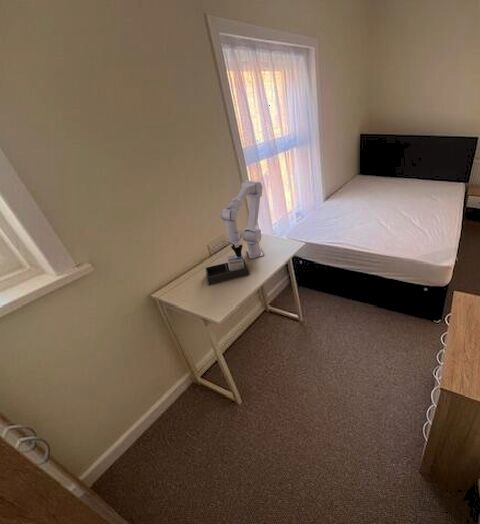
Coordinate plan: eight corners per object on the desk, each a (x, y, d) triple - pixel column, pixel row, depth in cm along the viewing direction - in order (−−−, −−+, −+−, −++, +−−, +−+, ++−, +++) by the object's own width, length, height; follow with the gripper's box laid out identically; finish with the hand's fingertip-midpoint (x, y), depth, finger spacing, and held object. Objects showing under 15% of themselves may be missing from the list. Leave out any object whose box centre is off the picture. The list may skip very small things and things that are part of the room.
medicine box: (230, 273, 153) (227, 259, 149) (228, 270, 156) (226, 256, 152) (245, 270, 156) (243, 256, 152) (243, 267, 160) (241, 253, 156)
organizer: (207, 274, 156) (205, 267, 153) (245, 265, 163) (243, 258, 160) (209, 285, 148) (206, 277, 145) (248, 274, 155) (247, 267, 152)
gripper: (223, 227, 152) (228, 249, 160) (226, 238, 141) (232, 261, 148) (236, 224, 155) (241, 246, 162) (241, 235, 144) (245, 258, 151)
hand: (238, 253), depth 155 cm, fingers open, 7 cm apart
